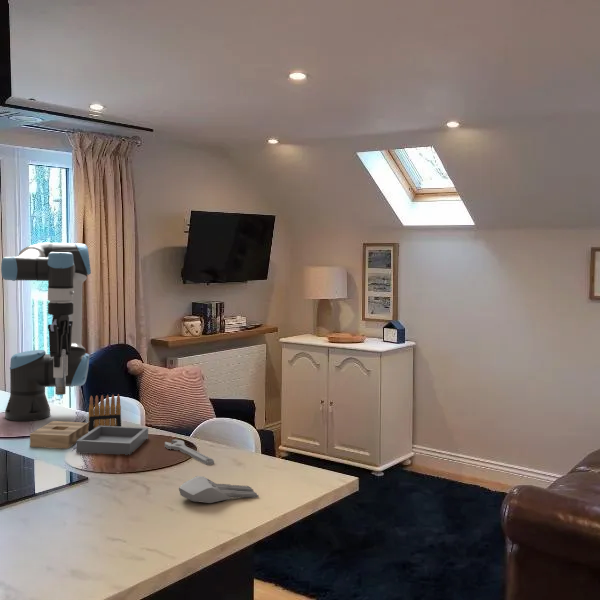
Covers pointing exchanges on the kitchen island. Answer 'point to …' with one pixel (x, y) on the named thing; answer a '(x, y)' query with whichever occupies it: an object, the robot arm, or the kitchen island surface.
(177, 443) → the adjustable wrench
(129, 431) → the tray
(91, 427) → the ammunition clip
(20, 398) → the robot arm
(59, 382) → the pin
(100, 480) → the kitchen island surface
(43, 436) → the tan board with hole
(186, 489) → the turret
